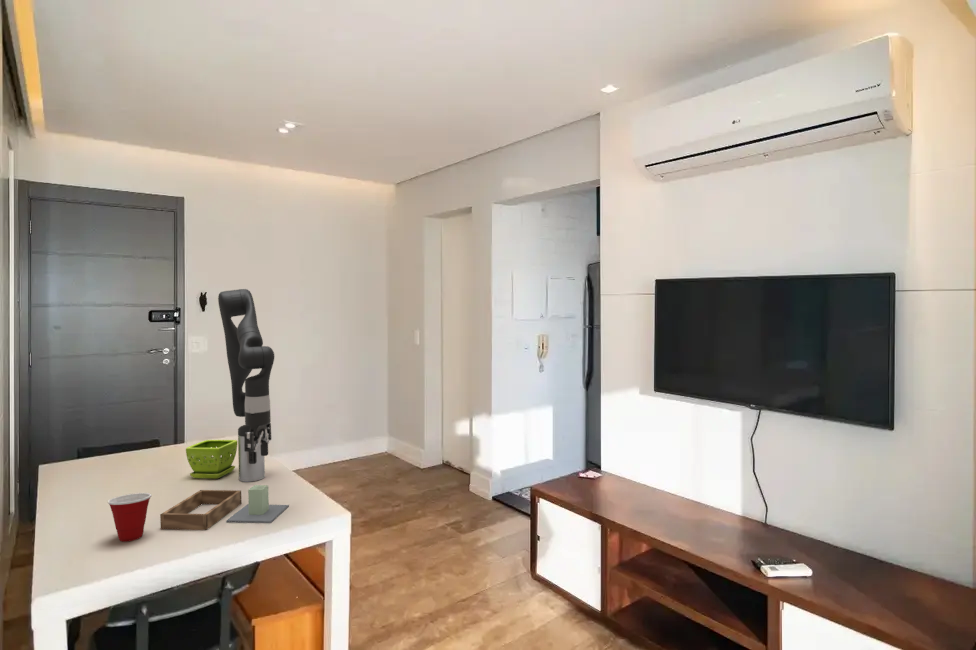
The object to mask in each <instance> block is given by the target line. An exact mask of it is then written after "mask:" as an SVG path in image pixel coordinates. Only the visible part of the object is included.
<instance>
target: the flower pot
mask: <svg viewBox="0 0 976 650" xmlns="http://www.w3.org/2000/svg"><path fill="white" fill-rule="evenodd" d="M237 450H238V439H205V440H202V441H199V442H197V443H194V444H192V445H190V446H189V445H188V446H187V447H186V448H185V455H186V458H187V461H188V464H189V467H190V468H191V470H192V472H190V473H189V476H191V478H194V479H210V480H218V479H220V478H222V477H224V476H226V475H228V474H230V473H231V472H233V471H234V469H235V468H236V465H233V463H234V460H235V457H236V455H237V452H238V451H237Z"/></svg>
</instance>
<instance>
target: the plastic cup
mask: <svg viewBox="0 0 976 650" xmlns="http://www.w3.org/2000/svg"><path fill="white" fill-rule="evenodd" d="M151 497H152V494H151V493H149V492H135V493H128V494H122V495H119V496H115V497H112V498H109V499H108V500H106V501H107V504H108V506H110V510H111V513H112V518H113V522H114V526H115V529H116V533H117V538H118V540H119V541H120V542H133V541H136V540H139V539H140V538H142V537H143V534H144V530H145V525H146V518H147V513H148V507H149V502H150V499H151Z"/></svg>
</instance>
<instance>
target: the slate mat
mask: <svg viewBox="0 0 976 650" xmlns="http://www.w3.org/2000/svg"><path fill="white" fill-rule="evenodd" d="M289 505H290V504H269V510H268V511H267V512H265V513H264V514H263V515H249V505H248V503H247V504H246V505H244V506H243V507H242V508H240V509H239V510H238V511H237V512H235V513H234V514H233V515H231V516H230V517H229V518H227V519H226V520H225V521H226V523H243V524H247V523H248V524H249V523H251V524H254V523H255V524H272V523H273V522H274V521H275V520H276V519H277V518H278V517H279V516H280V515H282V513H284V512H285V511H286V510H287V509H288V508H289Z"/></svg>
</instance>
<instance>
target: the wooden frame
mask: <svg viewBox="0 0 976 650" xmlns="http://www.w3.org/2000/svg"><path fill="white" fill-rule="evenodd" d="M201 504H202V505H215V506H214V507H212V508H210V509H209V510H208V511H207V512H205V513H191V512H192V510H193V511H194V510H196V509H197V508H198V506H199V507H200V506H201ZM241 505H242V490H238V489H237V490H233V489H230V490H227V489H226V490H225V489H223V490H222V489H221V490H219V489H200V490H198V491H197V492H195V493H193V494H192V495H190V496H188V497H187V498H184V499H183V500H182V501H180V502H178V503H177V504H174V505H173V506H172V507H170V508H168V509H167V510H165V511H163V512H162V513H160V514H159V515H160V517H159V518H160V519H159V520H160V521H159V523H160V530H176V531H177V530H179V531H180V530H182V531H184V530H186V531H187V530H188V531H189V530H190V531H191V530H192V531H207V530H208V529H210V528H211V527H212V526H214V525H215V524H217V522H219V521H220V520H222V519H224V518H225V517H226V516H227V515H228V514H230V513H231V512H232V511H234V510H235V509H237V508H238V507H239V506H241ZM195 508H196V509H195ZM221 518H222V519H221Z"/></svg>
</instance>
